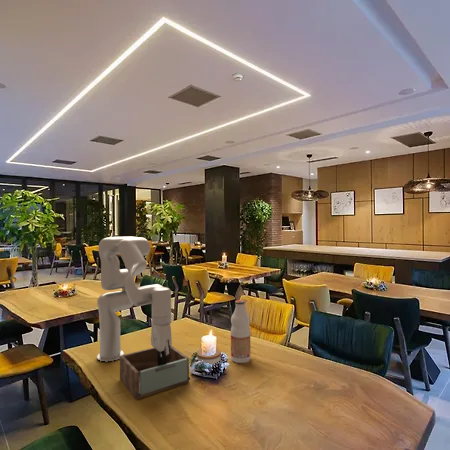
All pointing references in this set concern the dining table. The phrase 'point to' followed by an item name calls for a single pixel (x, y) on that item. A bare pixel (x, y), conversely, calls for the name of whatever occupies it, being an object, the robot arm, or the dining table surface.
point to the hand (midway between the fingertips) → (162, 365)
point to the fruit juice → (240, 334)
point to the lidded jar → (209, 357)
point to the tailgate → (163, 376)
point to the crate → (142, 361)
